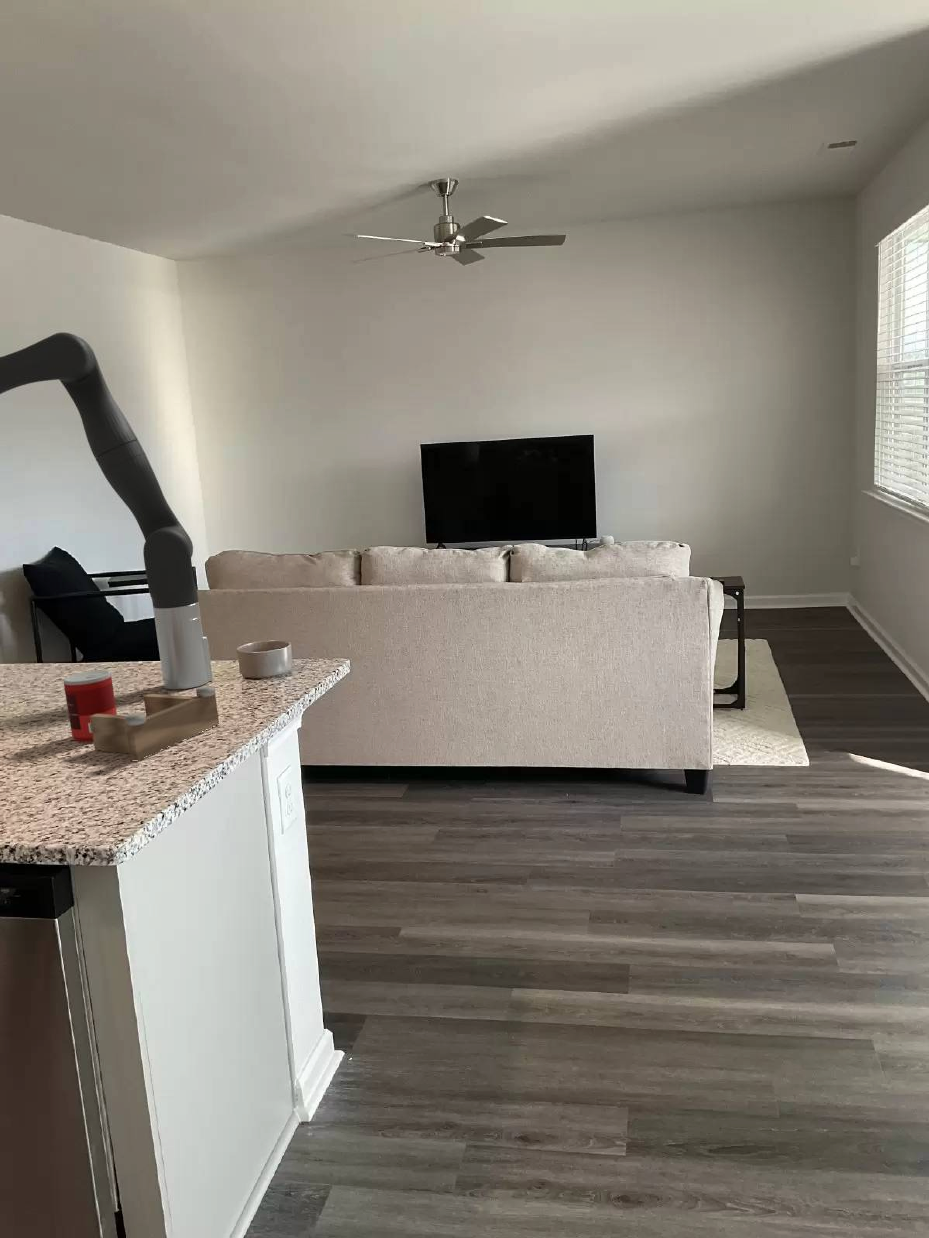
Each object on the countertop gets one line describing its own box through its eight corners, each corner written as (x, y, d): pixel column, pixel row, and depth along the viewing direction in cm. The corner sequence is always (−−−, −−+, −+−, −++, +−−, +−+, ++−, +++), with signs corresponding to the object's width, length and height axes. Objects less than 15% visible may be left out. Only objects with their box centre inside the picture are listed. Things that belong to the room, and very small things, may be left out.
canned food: (128, 729, 179) (119, 670, 177) (98, 743, 171) (89, 681, 169) (93, 728, 181) (84, 669, 179) (63, 742, 174) (53, 681, 172)
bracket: (80, 756, 164) (74, 714, 163) (166, 721, 182) (160, 683, 181) (141, 762, 158) (135, 718, 157) (223, 725, 176) (218, 686, 175)
